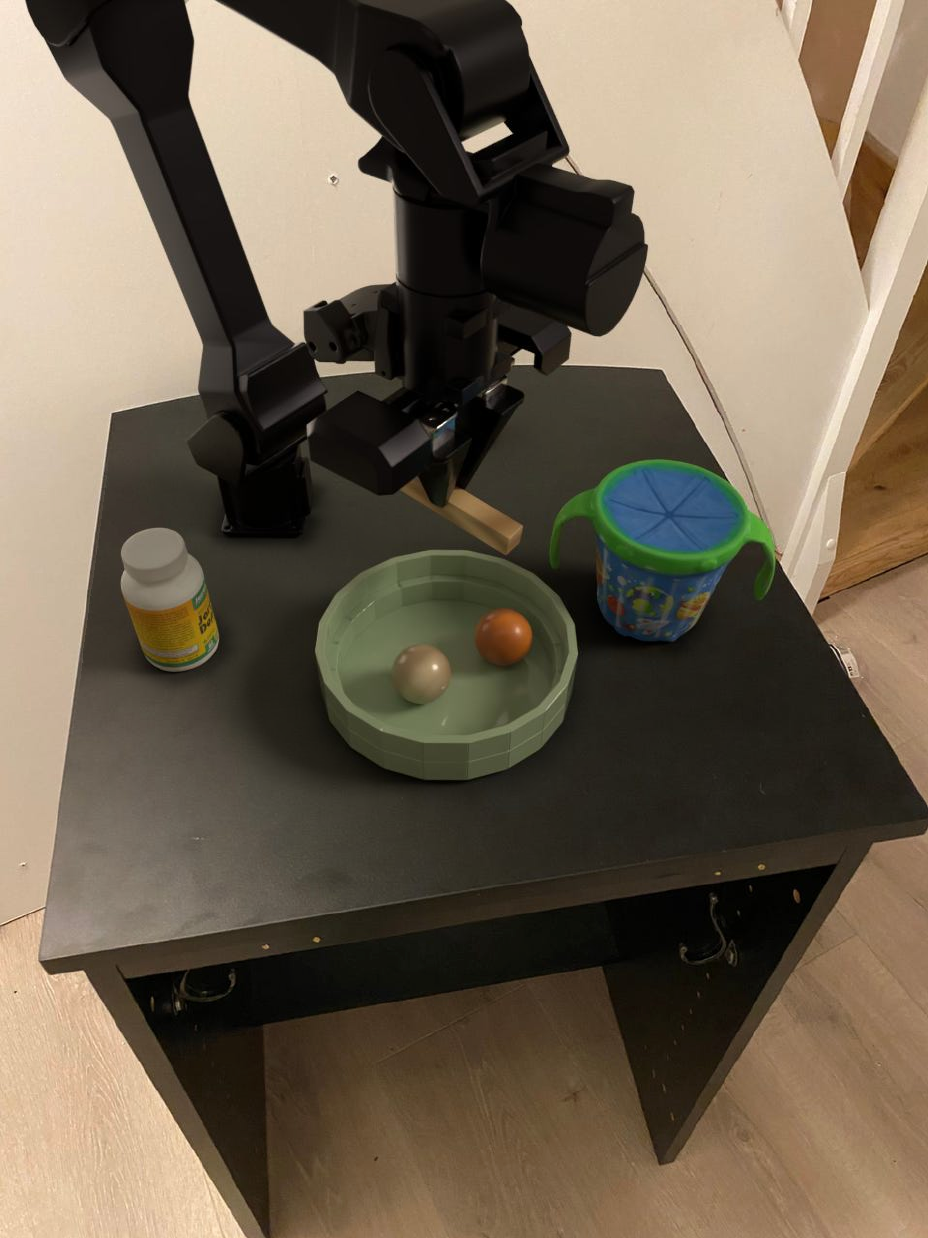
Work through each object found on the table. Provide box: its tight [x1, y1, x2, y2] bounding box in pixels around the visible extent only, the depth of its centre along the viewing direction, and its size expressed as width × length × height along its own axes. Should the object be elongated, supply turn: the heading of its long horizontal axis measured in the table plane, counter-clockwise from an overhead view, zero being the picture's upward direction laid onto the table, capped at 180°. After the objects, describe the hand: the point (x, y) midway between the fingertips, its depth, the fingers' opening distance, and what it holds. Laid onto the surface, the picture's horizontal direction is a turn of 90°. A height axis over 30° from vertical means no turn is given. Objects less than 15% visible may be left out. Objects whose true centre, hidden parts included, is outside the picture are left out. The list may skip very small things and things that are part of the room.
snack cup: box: [548, 459, 776, 643], centre depth 67 cm, size 16×10×10 cm
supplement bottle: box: [120, 527, 220, 673], centre depth 64 cm, size 5×5×10 cm
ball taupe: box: [391, 644, 451, 704], centre depth 63 cm, size 4×4×4 cm
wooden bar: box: [399, 476, 524, 556], centre depth 62 cm, size 12×2×2 cm, turn 53°
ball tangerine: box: [475, 608, 532, 666], centre depth 65 cm, size 4×4×4 cm
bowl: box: [314, 549, 579, 781], centre depth 64 cm, size 17×17×4 cm
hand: (447, 497), depth 62 cm, fingers closed on wooden bar, 2 cm apart
